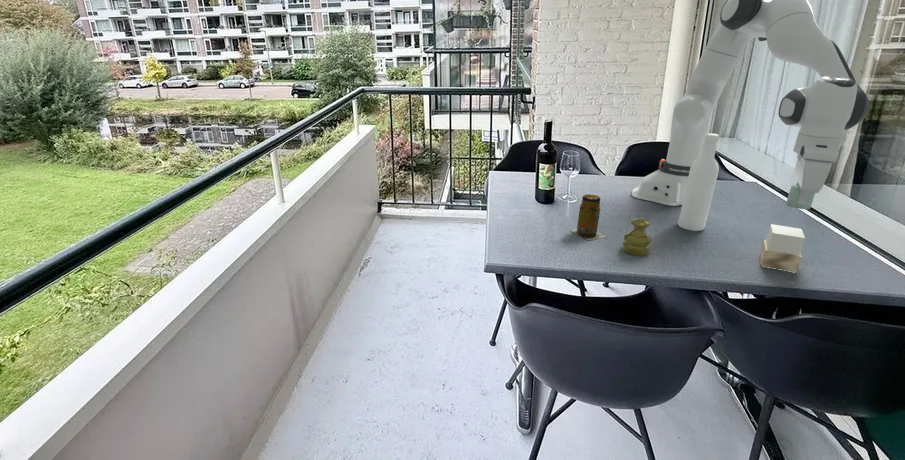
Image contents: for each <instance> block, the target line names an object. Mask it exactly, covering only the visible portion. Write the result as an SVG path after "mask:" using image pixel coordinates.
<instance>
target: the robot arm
mask: <svg viewBox="0 0 905 460" xmlns="http://www.w3.org/2000/svg"><path fill="white" fill-rule="evenodd" d="M719 16H720V17H719V21H720V24H719V25H718V26H717V27H716V29H715V31H714V32H713V33H712V35H711V37H710V39H709V40H708V42H707V44H706V46H705V48H704V50H703V52H702V53H701V56H700V59H699V60H698V62H697V64H696V66H695V68H694V71H693V73H692V76H691V78H690V80H689V81H690V82H689V83H688V86H687V88H686V90H685V91H684V95H683V96H682V97H681V98H680V99H679V100H677V102H676V104H675V105H674V108H673V112H672V120H671V129H670V137H669V138H670V140H669V144H668V149H667V155H666V159H664V158H661V159H660V160H659V163H658V165H659V166H658V169H657V170H655V171H653V172H651V173H649V174H648V175H646V176H644V177H643V178H642V179H641V181H640V182H639V183H640V184H639V185H638V186H637V187H634V188H633V189H632V190H631V196H632V197H633V198H635V199H640V200H645V201H648V202H653V203H657V204H661V205H666V206H669V207H676V206H677V207H678V206H682V204H683V199H684V195H685V190H686V186H687V181H688V176H689V172H690V167H691V165H692V164H693V162H694V160H696V159H697V158H699V157H700V156H701V153H702V148H703V144H704V138H705V135H706V130H707V125H708V120H709V117H710V116H711V115H712V113H713V110H714V109H715V107H716V105H717V103H718V101H719V99H720V98H721V95H722V93H723V91H724V89H725V88H726V85H727V84H728V81H729V79H730V77H731V75H732V74H733V71H734V70H735V68H736V66H737V64H738V63H739V60H740V58H741V56H742V55H743V53H744V50H746V49H745V48H746V47H747V45H748V44H749V42H750V41H752V40H754V39H756V38H758V39H757V40H758V41H759V42H763V41H764V42H765V41H766V44H767V48H768V49H769V51H770V53H771V55H773V56H774V57H775V58H777V59H778V60H781V61H784V62H788V63H791V64H796V65H800V66H804V67H807V68H809V69H812V70H813V71H815V72H816V73H818V75H819V76H820V77H819V78H818V79H816V80H815V82H814V83H812V84H810V85H808V86H804V87H800V88H794V89H793V90H790V91H788V93H787V94H785V95H784V97H783V98H782V99H781V101H780V103H779V106H778V117H779V118H780V120H781V122H782V123H783V124H784V125H786V126H790V127H798V128H799V127H800V129H799V131H798V133H797V137H796V140H795V143H794V147H793V150H792V151H793V152H794V153H796V154H797V156H796V157H797V161H796V164H795V167H794V170H793V173H794V176H795V177H796V184H799V186H800V188H801V192H800V195H799V196H798V200H797V202H798V204H802V205H805V204H806V203H807V200H808V198H809V196H810V195H811V193H815V194H819V193H820V192H821V190H822V189H823V187H824V184H825V182H826V180H827V178H828V175H829V173H830V172H831V167H832V165H833V163H836V162H837V161H838V157H839V155H840V153H839V152H840V149H841V146H842V143H843V141H844V137H845V131H846V130H847V131H848V130H850V129H852V128H853V127H855V126H857V125H858V124H860V123H861V122H862V121H863V120H864V119H865V118H866V116H867V115H868V113H869V111H870V100H869V97H868V95H867V93H866V92H865V91H864V90H863V89H862V88H861V86H860V85H859V84H858V82H857V81H856V79H855V77H854V75H853V72H852V71H851V69H850V67H849V65H848V63H847V61H846V59H845V57H844V55H843V53H842V51H841V49H840V48H839V46H838V44H837V43H836V42H834V41H833V40H832V39H830V38H829V37H828V36H827V35H825V33H824V32H823V31H822V30H821V28H820V27H819V25H818V23H817V21H816V17H815V15H814V11H813V8H812V6H811V4H810V2H809V0H726V1H725V2H724V4H723V6H722V8H721V11H720V15H719Z"/></svg>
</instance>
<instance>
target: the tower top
mask: <svg viewBox="0 0 905 460" xmlns="http://www.w3.org/2000/svg"><path fill="white" fill-rule="evenodd" d="M765 240H766V245H767V250H770V251H776V252H781V253H786V254H792V255H797V256H799V255H800V252H801V251H802V249H803V246H804V244H805V243H804V242H805V240H806V237H805V234H804V232H803V230H802V228H797V227H791V226H786V225H779V224H773V223H771V224H770V225H769V228H768V231H767V235H766V238H765Z"/></svg>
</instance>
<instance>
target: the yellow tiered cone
mask: <svg viewBox="0 0 905 460" xmlns="http://www.w3.org/2000/svg"><path fill="white" fill-rule="evenodd" d="M630 223H631V225H633V229H631V230H630V231H627V232H626V233H624V235H623V241H622V246H621V249H622V251H623V252H624V253H626V254H628V255H631V256H636V257H639V256H640V257H643V256H647V255H649V253H650V250H651V244H652V240H653V239H652V237H651V236H650V235H649V234H648V233H647V232H646V231H645V230H646V228H649V226H650V225H651V223H650V221H649V220H647V219H645V218H644V217H637V218H634V219H632V220H631V221H630Z"/></svg>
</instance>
